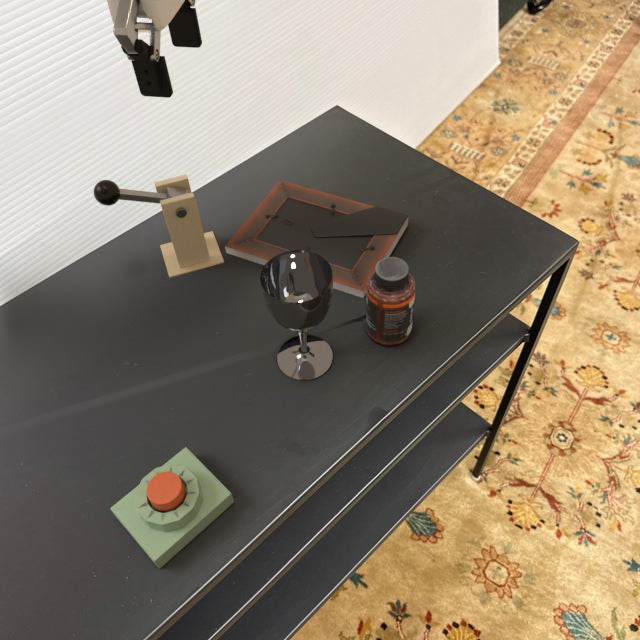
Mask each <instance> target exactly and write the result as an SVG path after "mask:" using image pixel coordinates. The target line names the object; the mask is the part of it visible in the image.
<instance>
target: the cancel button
mask: <svg viewBox="0 0 640 640" xmlns="http://www.w3.org/2000/svg"><path fill="white" fill-rule="evenodd" d="M146 493H147V496H148V498H149V500H150V502H151V504H152V505H153V506H154V507H155V508H156V509H158V510H160V511H170V510H173V509H175V508H176V507H178V506H179V505H180V504H181V502H182V501H183V499H184V496H185V488H184V485H183V483H182V481H181V479H180V477H179V476H178V475H177V474H175V473H173V472H161V473H159V474H157V475H155V476H154V477H153V478H152V479H151V480H150V481H149V483H148V485H147V490H146Z"/></svg>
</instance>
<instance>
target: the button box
mask: <svg viewBox="0 0 640 640" xmlns="http://www.w3.org/2000/svg"><path fill="white" fill-rule="evenodd" d="M161 472H173V473H175V474H177V475H178V476H179V477H180V479H181V481H182V483H183V485H184V488H185V496H184V499H183V501H182V502H181V504H180V505H179V506H178V507H176V508H175V509H173V510H170V511H160V510H158V509H156V508H155V507H154V506H153V505H152V504H151V502H150V500H149V498H148V496H147V493H146V490H147V485H148V483H149V481H150V480H151V479H152V478H153V477H154V476H155V475H157V474H159V473H161ZM234 503H235V499H234V497H233V493H232V492H231V491H230V490H229V489H228V488H227V487H226V486H225V485H224V484H223V483H222V482H221V481H220V480H219V479H218V478H217V477H216V476H215V474H214V473H212V472H211V471H210V470H209V469H208V468H207V466H205V464H204V463H202V462H201V461H200V459H198V457H196V455H195V454H193V453H192V452H191V450H190V449H189V448H187V447H186V446H185V447H184V448H183V449H181V450H180V451H178V452H177V453H176V454H175V455H174V456H172V457H171V458H169V460H167V461H166V462H165V463H164V464H163V465H162V466H158V467H154V469H152V470H151V471H150V472H148V474H146V475H145V476H144V477H142V479H141V481H140V483H139V484H138V485H137V486H135V487H134V488H133V489H132V490H130V491H129V492H128V493H127V494H126V495H124V496H123V497H122V498H120V500H118V501H117V502H116V503H115V504H113V505H112V506H111V507H110V511H111V512H112V513H113V515H114V516H115V518H116V519H117V520H118V521H119V522H120V524H121V525H122V526H123V527H124V528H125V530H126V531H127V532H128V533H129V535H130V536H131V537H132V538H133V539H134V540H135V542H136V543H137V545H139V547H140V548H141V549H142V550H143V552H144V553H145V554H146V555H147V556H148V558H149V559H150V560H151V561H152V562H153V563H154V565H155V566H156V568H158V569H159V570H160V569H162V568H163V567H164V566H165V564H167V563H169V561H170V560H171V559H172V558H173V557H174V556H176V555H177V554H178V553H179V552H181V550H183V549H184V548H185V547H186V546H187V545H188V544H189V543H191V541H193V540H194V539H195V538H196V537H197V536H198V535H199V534H200V533H202V532H203V531H204V530H205V529H206V528H207V527H208V526H209V525H210V524H211V523H213V522H214V521H215V520H216V519H217V518H218V517H219V516H221V515H222V514H223V513H224V512H225V511H227V509H228V508H230V507H231V506H232V505H233V504H234Z"/></svg>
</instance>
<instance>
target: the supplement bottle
mask: <svg viewBox="0 0 640 640" xmlns="http://www.w3.org/2000/svg"><path fill="white" fill-rule="evenodd" d="M416 286H417V285H416V281H415V278H414V276H413V275H412V274H411V273H410V267H409V265H408V263H407V262H406V261H405V260H404V259H402V258H399V257H396V256H389V257H387V258H384V259H381V260H380V261H379V262H378V263H377V264H376V267H375V272H373V273H372V274H371V276H370V277H369V279H368V281H367V292H366V294H365V296H366V297H365V298H366V299H365V301H366V302H365V303H366V307H365V309H366V311H365V312H366V313H365V319H366V321H365V324H366V325H365V327H366V331H367V332H366V333H367V334H368V336H369V337H370V338H371V339H372V341H374V342H375V343H377V344H380V345H385V346H395V345H399V344H402V343H404V342H405V341H406V340H407V339H408V338H409V337H410V336H411V333H412V330H413V323H414V313H415V312H414V311H415V310H414V309H415V301H416V300H415V299H416Z"/></svg>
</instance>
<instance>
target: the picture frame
mask: <svg viewBox="0 0 640 640" xmlns="http://www.w3.org/2000/svg"><path fill="white" fill-rule="evenodd" d="M408 226H409V214H406V213H402V212H400V211H395V210H392V209H389V208H385V207H381V206H378V205H375V206H374V205H372V204H371V205H370V204H368V203H365V202H360V201H357V200H353V199H351V198H350V199H349V198H347V197H343V196H338V195H335V194H332V193H328V192H325V191H321V190H318V189H314V188H310V187H308V186H304V185H300V184H296V183H294V182H289V181H286V180H282V179H279V180H278V181H277V182H276V184H275V185H273V187H272V189H270V191H269V192H268V194H266V196H265V197H264V198H263V200H262V201H261V202H260V203H259V204H258V205H257V206H256V208H255V209H254V210H253V211H252V213H251V214H250V215H249V217H247V218H246V220H245V221H244V222H243V224H241V226H240V227H239V229H238V230H237V231H236V232H235V233H234V234H233V236H231V238H230V239H229V240H228V242H226V244H225V245H224V249H225V253H226V254H228V255H232V256H234V257H237V258H240V259H243V260H247V261H250V262H252V263H255V264H259V265H261V266H263V267H264V266H265V264H266V263H267V262H268V261H269V260H270V259H272V258H273V257H275V256H276V255H279V254H281V253H284V252H287V251H292V250H305V251H310V252H314V253H316V254H318V255H320V256H322V257H323V258H324V259H325V260H326V261H327V262H328V263H329V264H330V266H331V269H332V274H333V290H336V291H337V290H338V291H340V292H343V293H346V294H350V295H353V296H356V297H359V298H362V299H364V297H365V296H366V292H367V281H368V279H369V277H370V276H371V274H372V273H373V272H375V267H376V264H377V263H378V262H379V261H380V260H381V259H384V258H387V257H391V255H392V253H393V251H394V249H395V248H396V246H397V245H398V243H399V241H400V239H401V238H402V236H403V234H404V233H405V231H406V229H407V227H408Z"/></svg>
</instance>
